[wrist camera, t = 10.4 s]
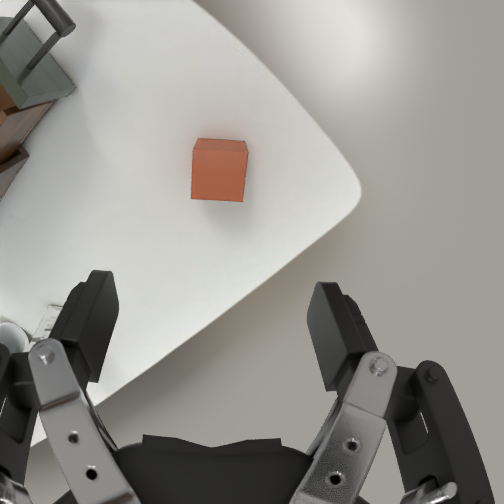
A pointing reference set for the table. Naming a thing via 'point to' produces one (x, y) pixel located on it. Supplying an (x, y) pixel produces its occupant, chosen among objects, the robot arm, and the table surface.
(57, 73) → the drawer
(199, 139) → the block
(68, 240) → the table surface
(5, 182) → the cabinet
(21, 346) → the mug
